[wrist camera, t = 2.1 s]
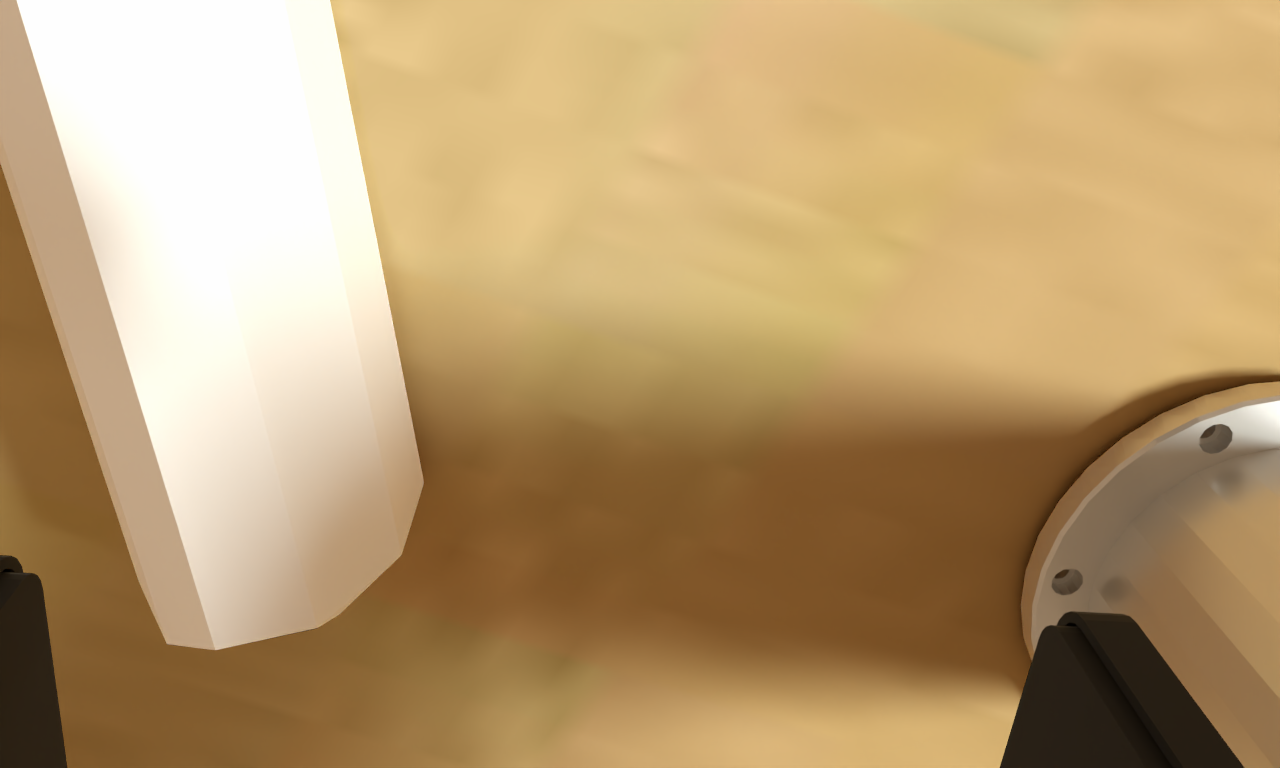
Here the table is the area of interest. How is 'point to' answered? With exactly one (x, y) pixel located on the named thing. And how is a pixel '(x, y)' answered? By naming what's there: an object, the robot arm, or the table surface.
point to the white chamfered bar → (215, 299)
